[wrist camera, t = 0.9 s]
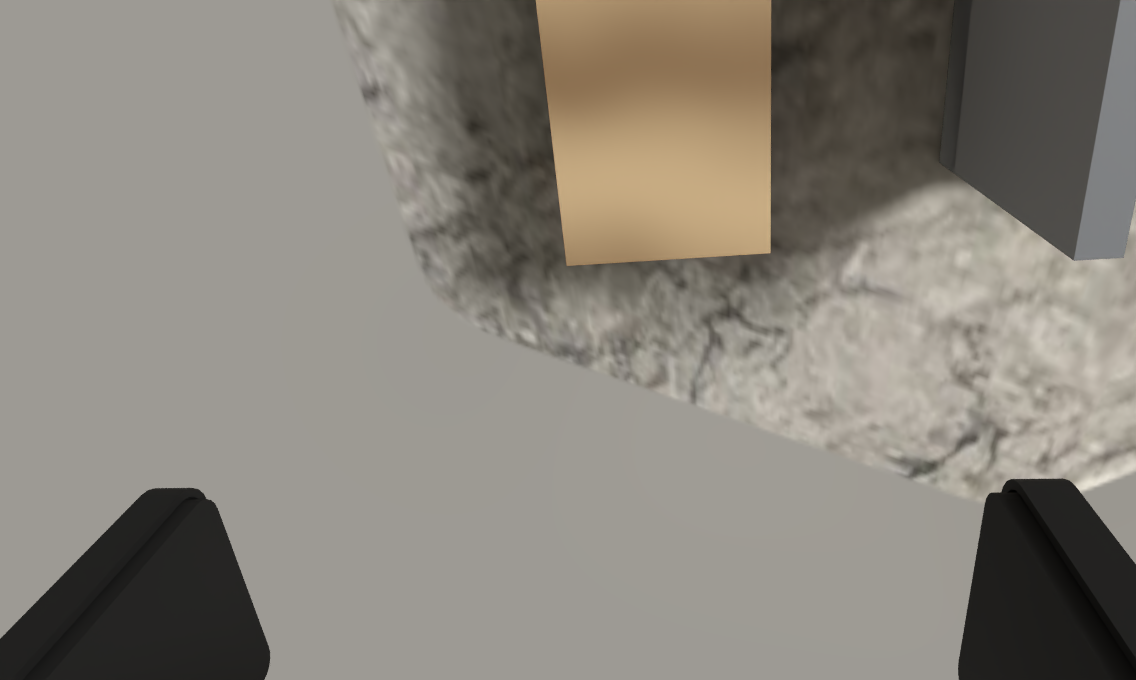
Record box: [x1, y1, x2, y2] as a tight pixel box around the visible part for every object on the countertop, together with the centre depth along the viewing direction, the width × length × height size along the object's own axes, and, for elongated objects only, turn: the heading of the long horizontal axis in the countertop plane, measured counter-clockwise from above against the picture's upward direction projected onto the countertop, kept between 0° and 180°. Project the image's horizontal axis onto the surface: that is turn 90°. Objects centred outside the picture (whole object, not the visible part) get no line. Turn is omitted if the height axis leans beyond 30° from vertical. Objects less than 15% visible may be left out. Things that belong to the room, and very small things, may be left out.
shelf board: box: [536, 0, 771, 266], centre depth 21 cm, size 12×6×2 cm, turn 6°
